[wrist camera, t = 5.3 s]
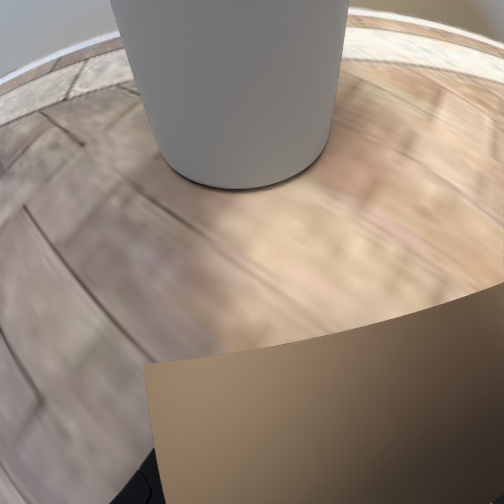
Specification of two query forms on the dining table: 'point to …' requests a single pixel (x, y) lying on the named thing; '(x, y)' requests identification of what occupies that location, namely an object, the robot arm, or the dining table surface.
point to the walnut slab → (341, 415)
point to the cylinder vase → (236, 83)
